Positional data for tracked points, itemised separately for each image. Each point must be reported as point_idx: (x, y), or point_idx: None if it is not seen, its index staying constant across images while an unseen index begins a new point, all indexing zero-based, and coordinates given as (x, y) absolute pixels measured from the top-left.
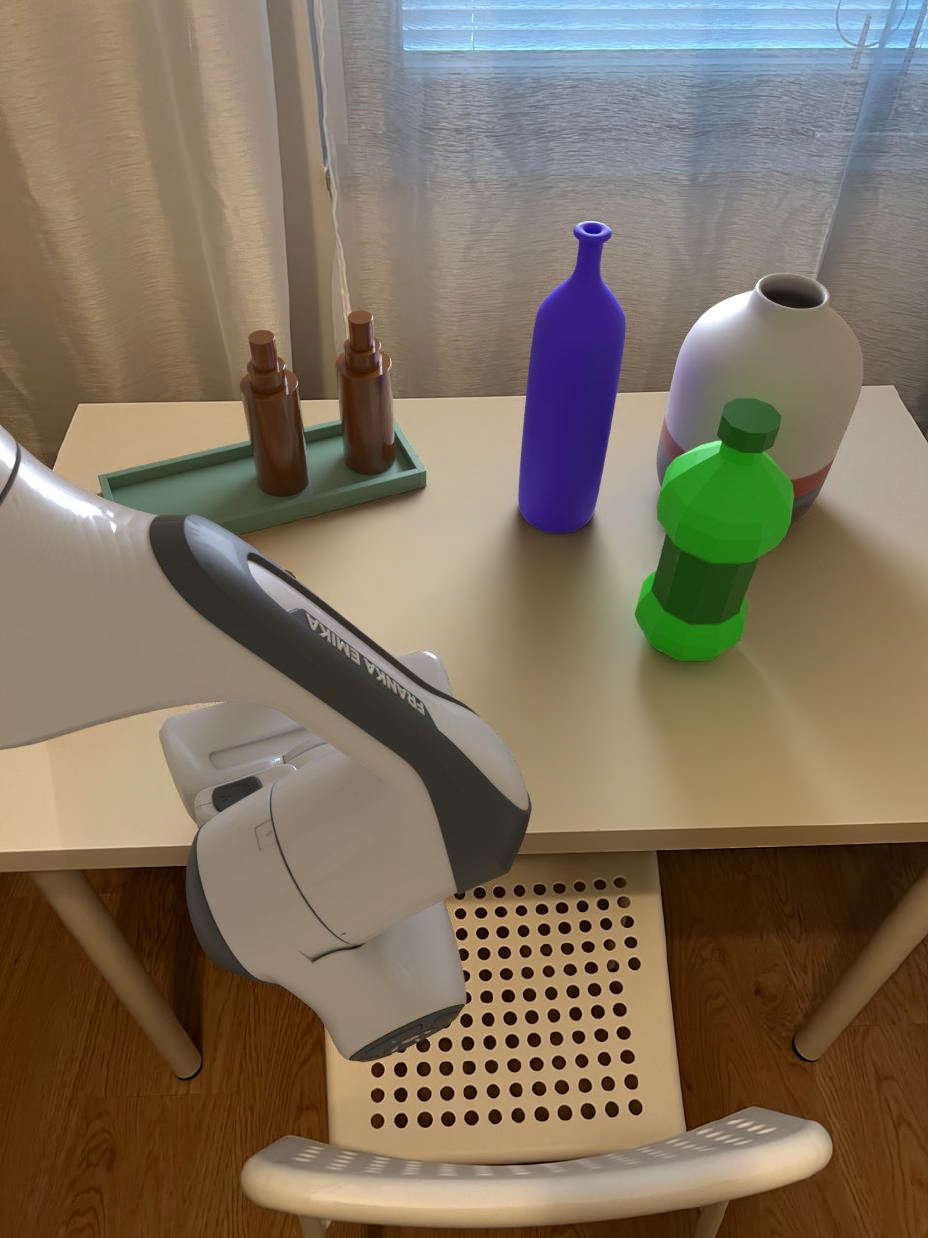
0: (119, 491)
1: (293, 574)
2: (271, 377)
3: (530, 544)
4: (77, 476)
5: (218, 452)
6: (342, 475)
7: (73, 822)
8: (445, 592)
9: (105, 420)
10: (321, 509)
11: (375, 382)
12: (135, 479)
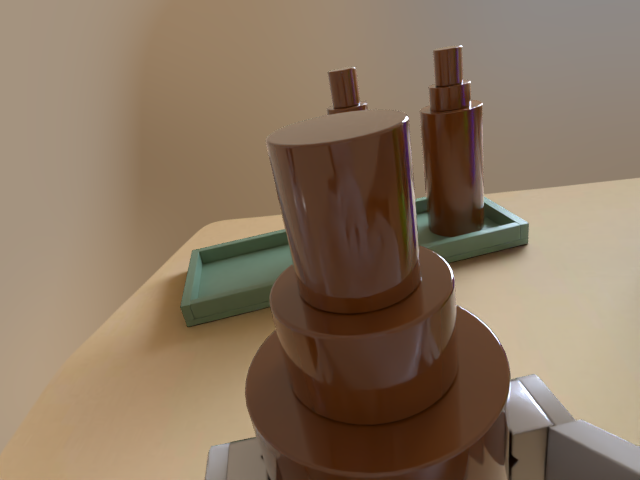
0: (209, 265)
1: (392, 111)
2: (352, 110)
3: None
4: (181, 258)
5: None
6: (428, 239)
7: None
8: (614, 354)
9: (220, 224)
10: None
11: (467, 116)
12: (225, 254)
